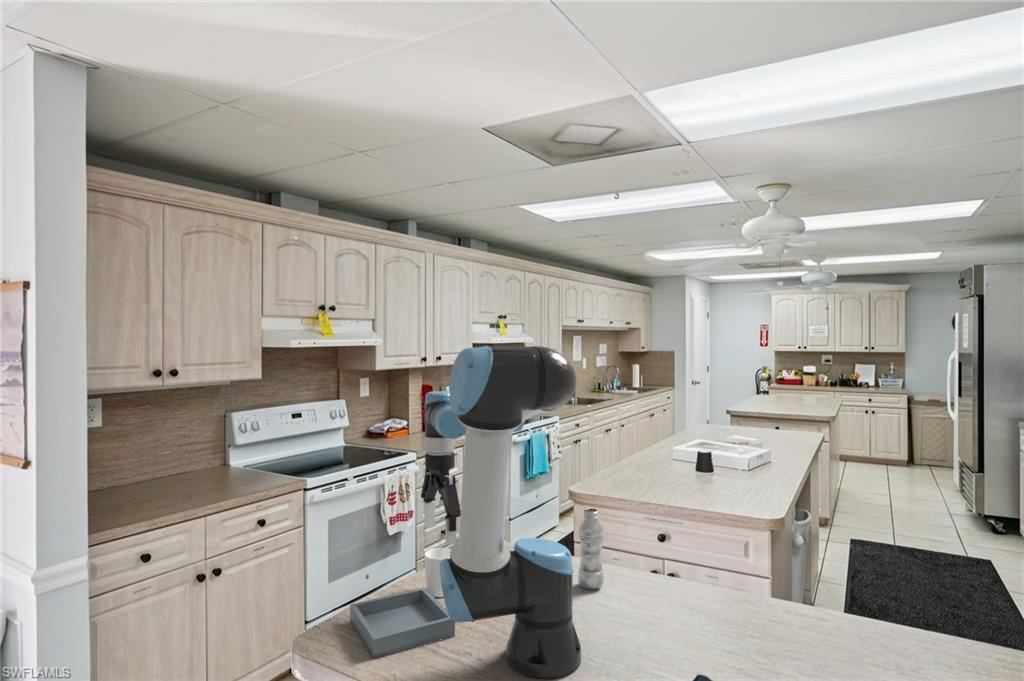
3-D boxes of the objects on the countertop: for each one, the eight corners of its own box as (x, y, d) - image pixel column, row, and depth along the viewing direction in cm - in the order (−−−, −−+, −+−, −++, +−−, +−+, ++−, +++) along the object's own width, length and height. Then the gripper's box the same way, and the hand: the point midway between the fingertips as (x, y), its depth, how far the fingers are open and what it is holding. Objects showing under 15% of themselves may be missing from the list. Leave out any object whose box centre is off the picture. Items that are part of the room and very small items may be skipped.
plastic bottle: (573, 584, 155) (573, 508, 154) (595, 580, 157) (595, 505, 157) (586, 594, 149) (586, 515, 149) (608, 589, 152) (608, 512, 151)
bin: (454, 636, 128) (454, 617, 128) (373, 659, 119) (373, 639, 119) (424, 603, 144) (424, 587, 144) (350, 621, 135) (350, 604, 135)
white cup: (458, 586, 154) (458, 548, 154) (452, 599, 146) (452, 559, 146) (429, 585, 155) (428, 547, 155) (421, 598, 147) (421, 558, 147)
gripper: (474, 460, 141) (474, 548, 142) (434, 442, 163) (434, 518, 163) (446, 463, 137) (446, 553, 138) (408, 445, 159) (408, 523, 159)
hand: (439, 535), depth 151 cm, fingers open, 13 cm apart
